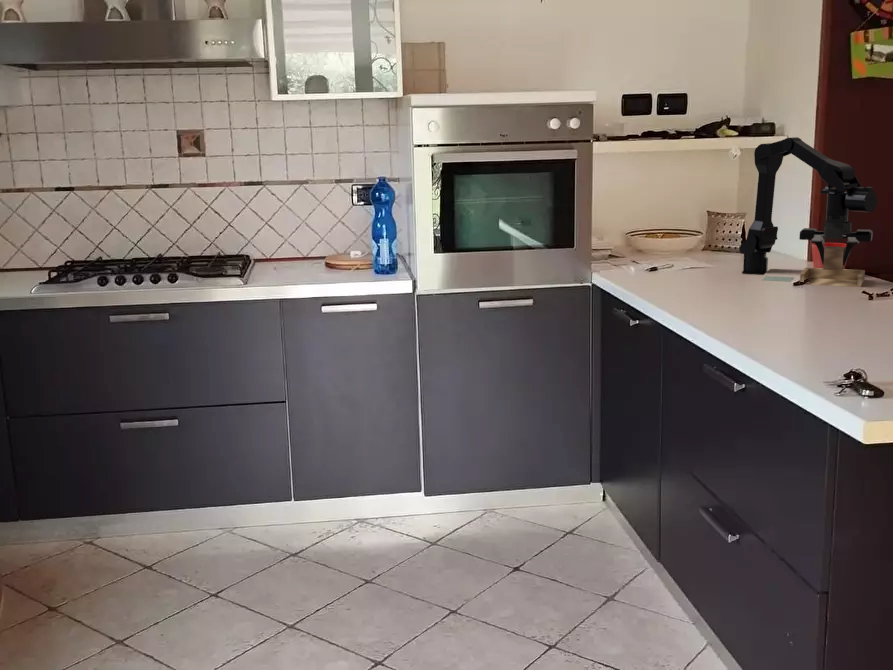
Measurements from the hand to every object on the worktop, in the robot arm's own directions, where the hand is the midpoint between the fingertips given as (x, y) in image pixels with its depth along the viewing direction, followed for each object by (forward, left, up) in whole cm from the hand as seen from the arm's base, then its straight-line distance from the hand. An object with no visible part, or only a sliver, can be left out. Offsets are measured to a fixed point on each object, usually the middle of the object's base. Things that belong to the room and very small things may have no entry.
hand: (833, 264), depth 259 cm
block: (0, 0, -1) cm, 1 cm away
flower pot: (-2, +14, -6) cm, 15 cm away
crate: (0, 0, -6) cm, 6 cm away
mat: (-15, +1, -6) cm, 16 cm away
